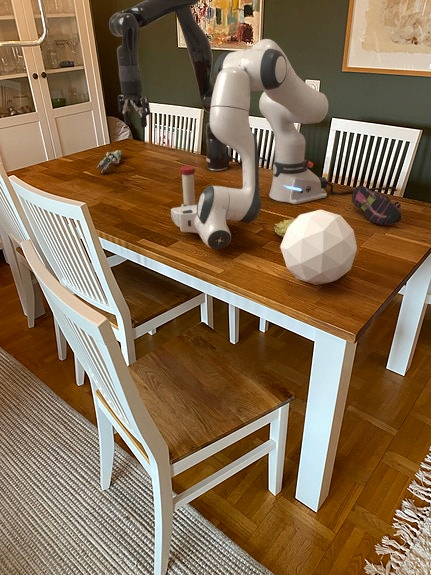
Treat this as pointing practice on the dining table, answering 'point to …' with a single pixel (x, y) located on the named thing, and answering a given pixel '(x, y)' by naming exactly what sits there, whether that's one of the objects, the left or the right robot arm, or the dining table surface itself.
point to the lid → (187, 170)
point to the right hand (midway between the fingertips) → (196, 203)
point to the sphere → (319, 247)
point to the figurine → (110, 160)
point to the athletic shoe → (376, 206)
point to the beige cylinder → (188, 189)
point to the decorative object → (283, 227)
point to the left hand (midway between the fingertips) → (136, 125)
